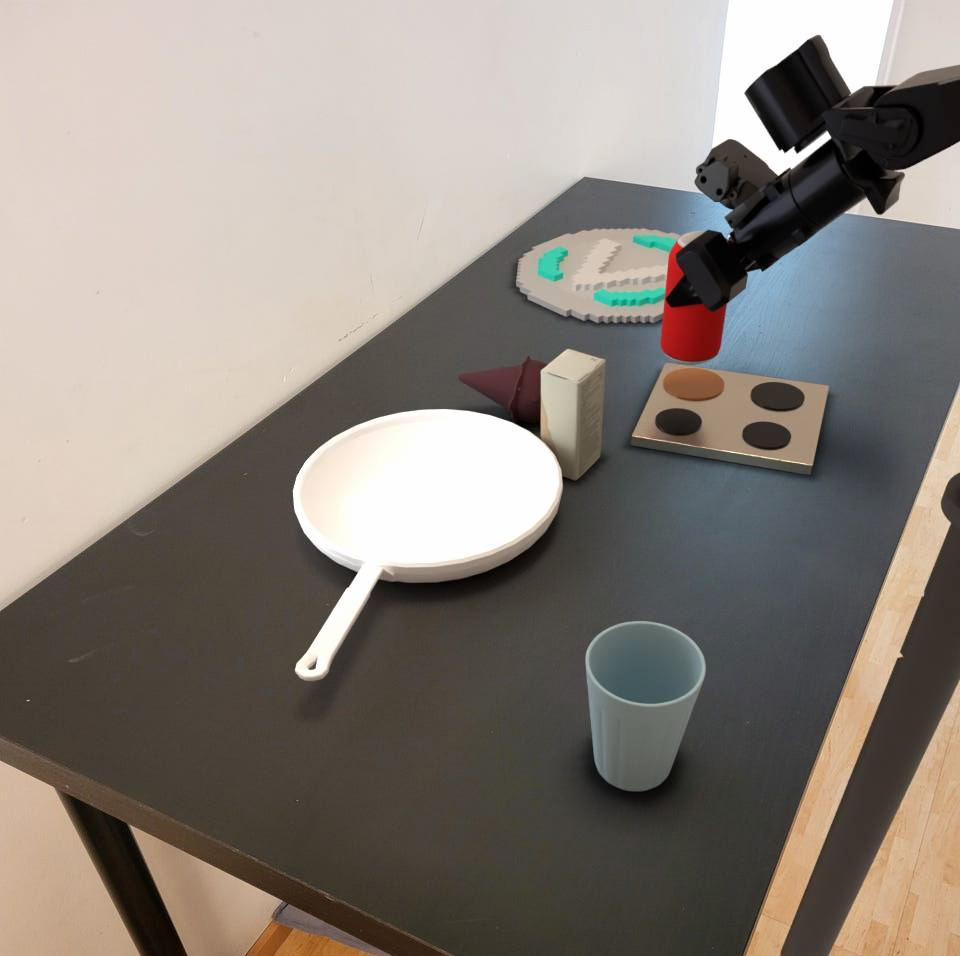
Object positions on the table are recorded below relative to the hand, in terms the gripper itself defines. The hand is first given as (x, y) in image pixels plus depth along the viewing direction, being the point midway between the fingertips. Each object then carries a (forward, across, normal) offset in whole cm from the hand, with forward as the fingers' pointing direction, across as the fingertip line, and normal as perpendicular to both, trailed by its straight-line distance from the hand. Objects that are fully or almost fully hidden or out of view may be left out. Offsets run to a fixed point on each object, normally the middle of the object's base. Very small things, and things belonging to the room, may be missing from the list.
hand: (684, 291), depth 94 cm
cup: (-7, +46, +25) cm, 52 cm away
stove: (+4, 0, +14) cm, 14 cm away
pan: (+13, +38, +4) cm, 40 cm away
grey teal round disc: (+24, -25, -6) cm, 35 cm away
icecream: (+17, +12, +1) cm, 21 cm away
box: (+10, +17, +7) cm, 21 cm away
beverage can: (+4, 0, +6) cm, 7 cm away
